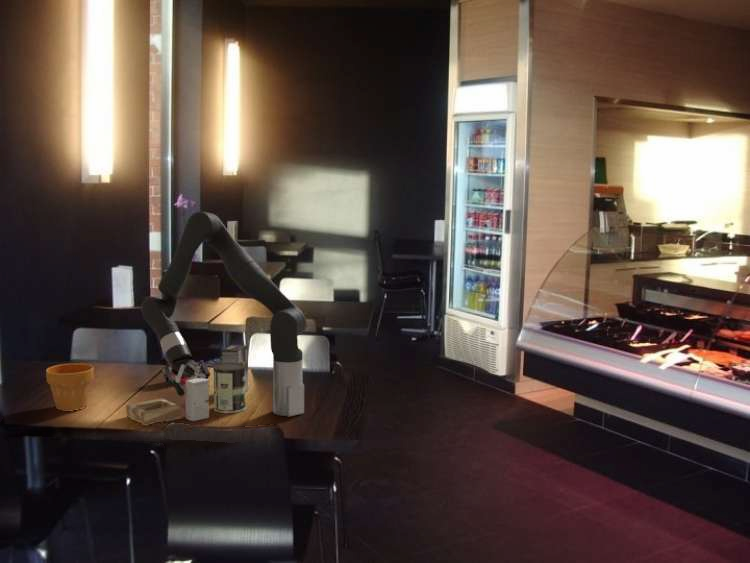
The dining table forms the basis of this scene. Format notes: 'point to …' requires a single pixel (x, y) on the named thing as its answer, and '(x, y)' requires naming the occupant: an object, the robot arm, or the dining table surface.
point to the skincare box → (197, 399)
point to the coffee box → (237, 357)
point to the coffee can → (229, 387)
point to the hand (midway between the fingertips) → (195, 392)
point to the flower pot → (70, 384)
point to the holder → (154, 411)
